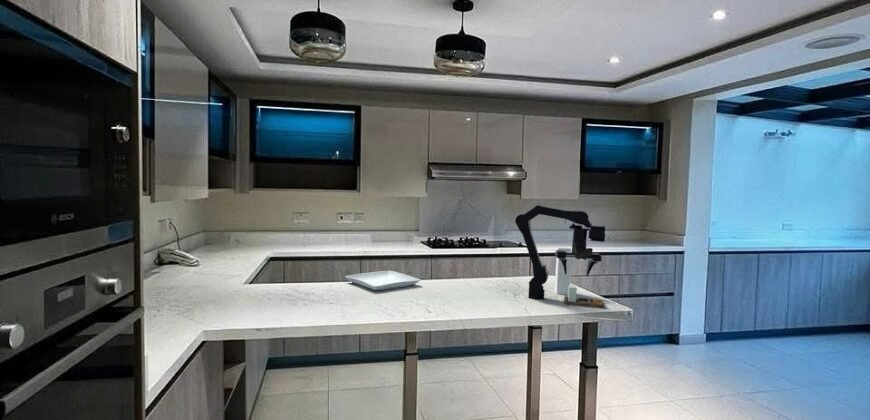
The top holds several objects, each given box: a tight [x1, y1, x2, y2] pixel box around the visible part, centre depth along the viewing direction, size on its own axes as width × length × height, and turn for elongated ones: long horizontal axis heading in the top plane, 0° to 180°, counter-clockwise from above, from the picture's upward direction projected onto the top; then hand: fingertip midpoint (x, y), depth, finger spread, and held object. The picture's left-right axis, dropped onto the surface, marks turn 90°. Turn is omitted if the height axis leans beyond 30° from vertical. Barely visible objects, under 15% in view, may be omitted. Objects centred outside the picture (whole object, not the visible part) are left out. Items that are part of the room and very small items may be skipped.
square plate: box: [345, 270, 421, 291], centre depth 234 cm, size 27×27×4 cm
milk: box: [554, 247, 573, 296], centre depth 226 cm, size 6×6×22 cm
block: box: [567, 284, 578, 302], centre depth 209 cm, size 3×6×7 cm, turn 167°
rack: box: [563, 295, 606, 309], centre depth 208 cm, size 16×11×4 cm, turn 77°
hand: (576, 275), depth 208 cm, fingers open, 9 cm apart
